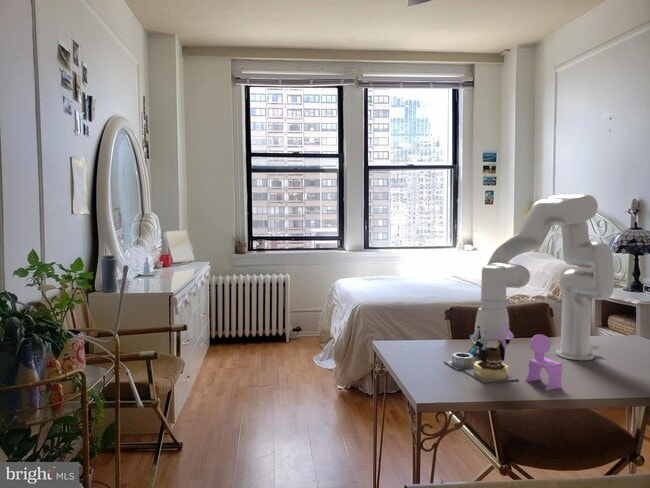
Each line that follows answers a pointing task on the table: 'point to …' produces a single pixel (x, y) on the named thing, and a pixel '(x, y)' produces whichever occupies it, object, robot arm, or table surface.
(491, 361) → the utensil holder
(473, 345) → the gear
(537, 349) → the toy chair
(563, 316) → the robot arm
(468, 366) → the narrow socket
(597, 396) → the table surface
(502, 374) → the wide socket
